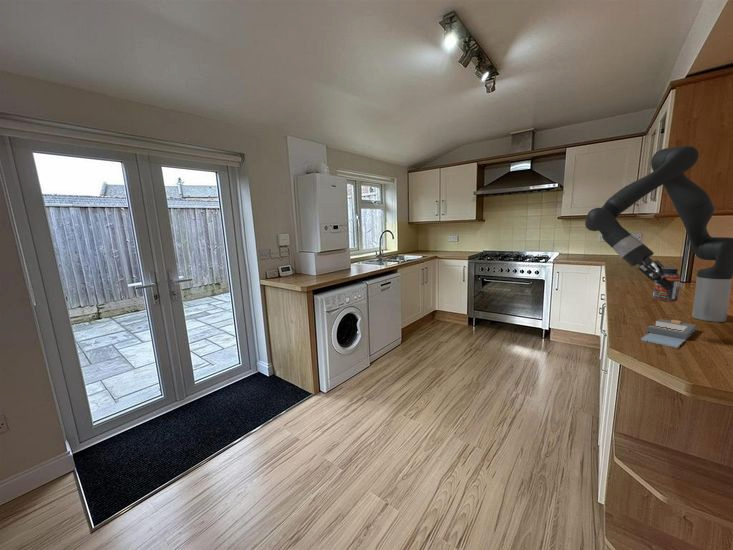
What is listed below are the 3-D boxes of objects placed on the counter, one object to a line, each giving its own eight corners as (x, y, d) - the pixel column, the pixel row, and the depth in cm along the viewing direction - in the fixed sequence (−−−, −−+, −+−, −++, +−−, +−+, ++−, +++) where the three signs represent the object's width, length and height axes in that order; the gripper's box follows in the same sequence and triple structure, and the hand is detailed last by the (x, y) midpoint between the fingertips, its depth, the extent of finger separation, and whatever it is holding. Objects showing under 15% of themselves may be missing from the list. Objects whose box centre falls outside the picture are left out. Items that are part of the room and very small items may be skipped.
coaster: (649, 334, 107) (649, 332, 107) (684, 341, 100) (684, 339, 100) (640, 340, 103) (641, 338, 102) (677, 348, 95) (677, 346, 95)
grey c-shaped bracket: (661, 322, 119) (662, 315, 119) (698, 328, 111) (699, 320, 110) (646, 332, 109) (647, 324, 109) (685, 340, 101) (686, 332, 100)
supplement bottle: (648, 299, 103) (652, 267, 101) (658, 297, 105) (662, 266, 103) (671, 303, 97) (676, 269, 95) (681, 301, 99) (685, 268, 98)
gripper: (635, 244, 100) (680, 283, 92) (649, 242, 108) (692, 278, 100) (614, 258, 106) (655, 296, 98) (629, 256, 113) (668, 291, 105)
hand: (673, 287), depth 99 cm, fingers closed on supplement bottle, 6 cm apart
